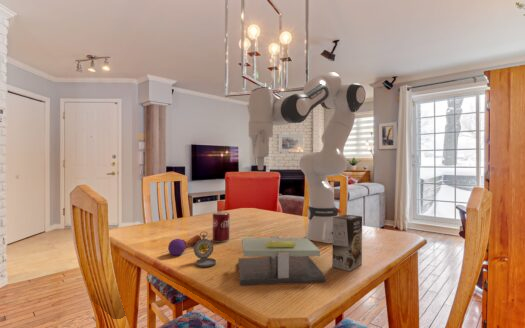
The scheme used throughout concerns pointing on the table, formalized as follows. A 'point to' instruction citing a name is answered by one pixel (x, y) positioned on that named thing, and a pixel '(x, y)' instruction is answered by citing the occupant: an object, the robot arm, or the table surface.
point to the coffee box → (347, 242)
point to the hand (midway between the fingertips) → (260, 169)
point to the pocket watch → (201, 246)
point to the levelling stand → (279, 270)
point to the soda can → (221, 226)
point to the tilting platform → (279, 247)
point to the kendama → (181, 245)
